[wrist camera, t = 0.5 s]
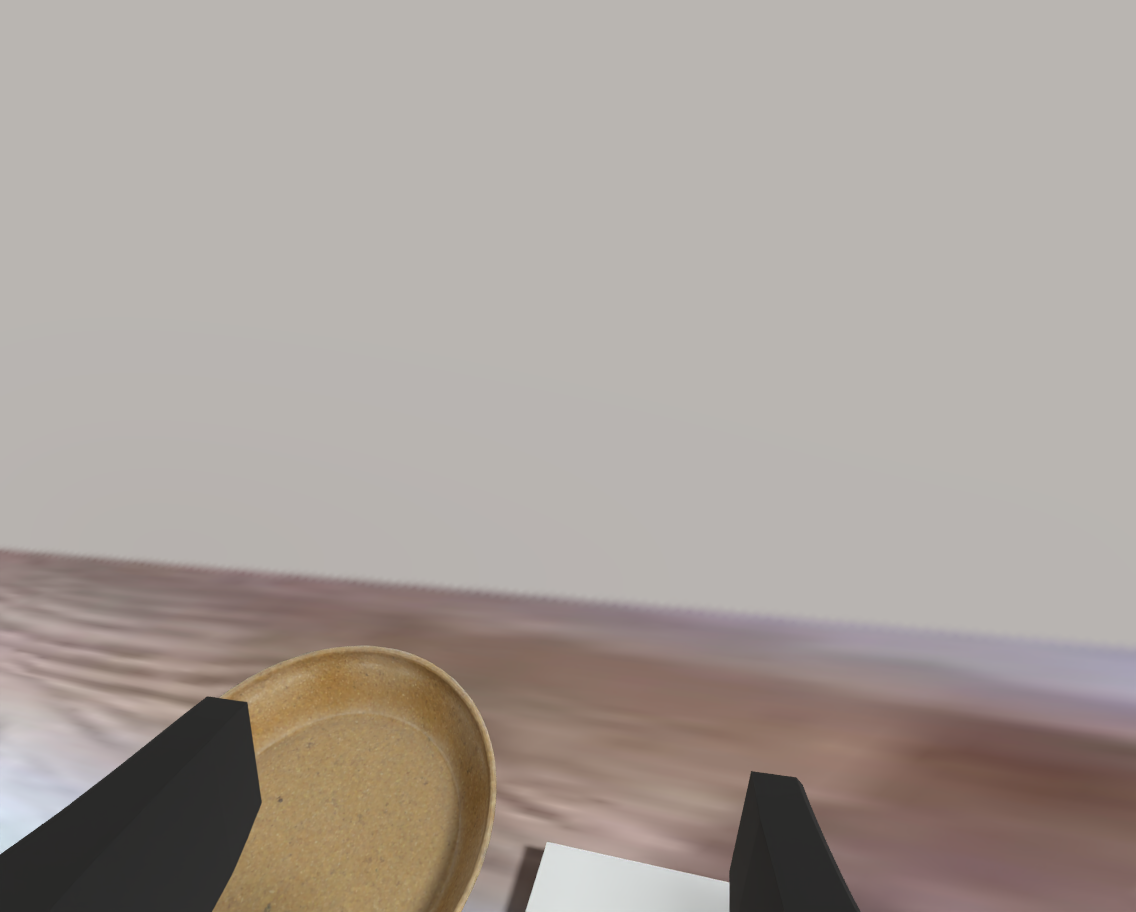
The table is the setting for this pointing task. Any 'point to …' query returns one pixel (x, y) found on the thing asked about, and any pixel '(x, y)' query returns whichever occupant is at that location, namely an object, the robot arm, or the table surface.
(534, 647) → the table surface
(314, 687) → the plant saucer
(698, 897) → the holder stand
